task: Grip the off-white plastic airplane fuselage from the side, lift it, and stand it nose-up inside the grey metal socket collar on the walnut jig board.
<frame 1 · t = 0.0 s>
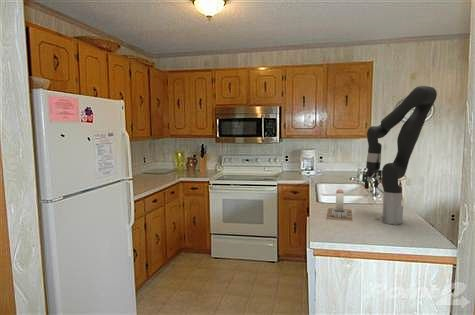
hand: (371, 188, 188), 17 cm above the worktop, tool pointing down, fingers open, 8 cm apart
socket collar: (339, 213, 187), on the jig board, point 3 cm above the worktop
jig board: (339, 216, 191), on the worktop
fuselage: (339, 212, 195), point 1 cm above the worktop, touching jig board
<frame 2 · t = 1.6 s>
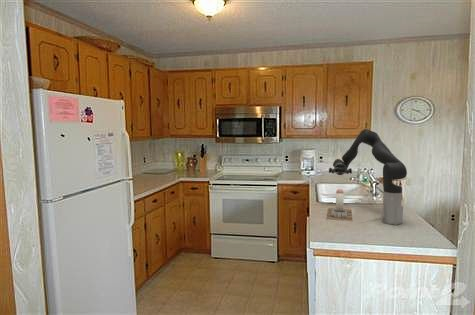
hand: (340, 172, 204), 24 cm above the worktop, tool horizontal, fingers open, 8 cm apart
nothing on the worktop moved.
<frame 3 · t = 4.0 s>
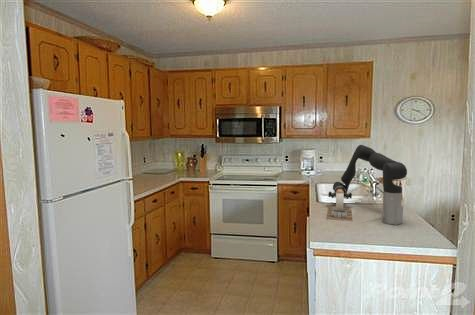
hand: (339, 197, 201), 9 cm above the worktop, tool horizontal, fingers open, 8 cm apart
nothing on the worktop moved.
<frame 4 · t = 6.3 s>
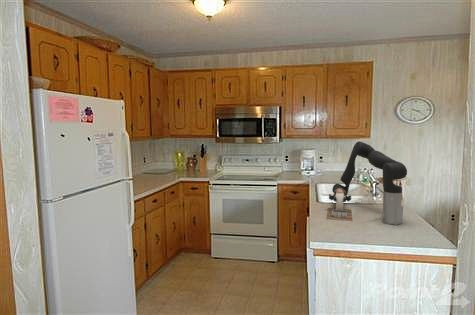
hand: (339, 200, 192), 9 cm above the worktop, tool horizontal, fingers closed on fuselage, 4 cm apart
fuselage: (339, 212, 195), point 1 cm above the worktop, touching gripper, jig board
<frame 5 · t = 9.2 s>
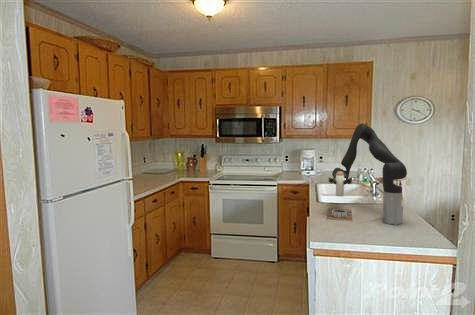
hand: (339, 182, 183), 21 cm above the worktop, tool horizontal, fingers closed on fuselage, 4 cm apart
fuselage: (339, 195, 186), point 13 cm above the worktop, touching gripper
when the fingers open (10 cm above the worktop, at t = 12.1 s): fuselage stays where it is, resting on jig board.
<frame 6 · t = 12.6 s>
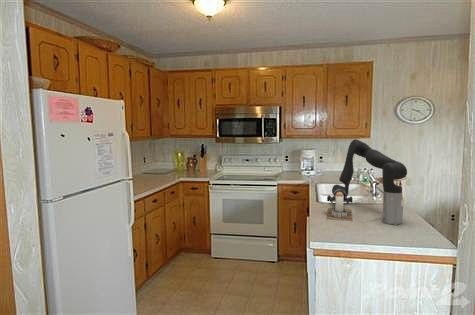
hand: (339, 201, 184), 10 cm above the worktop, tool horizontal, fingers open, 8 cm apart
fuselage: (339, 216, 187), point 1 cm above the worktop, touching jig board
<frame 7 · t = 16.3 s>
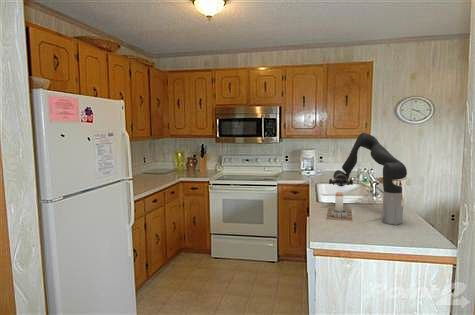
hand: (340, 183, 198), 18 cm above the worktop, tool horizontal, fingers open, 8 cm apart
nothing on the worktop moved.
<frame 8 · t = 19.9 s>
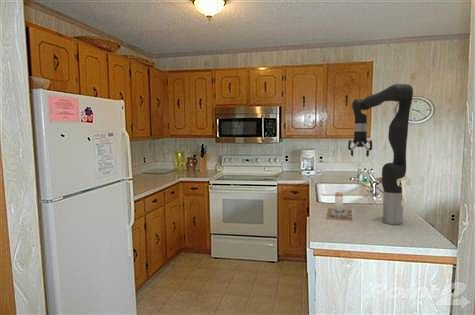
hand: (359, 156, 204), 34 cm above the worktop, tool pointing down, fingers open, 8 cm apart
nothing on the worktop moved.
at the end: fuselage 0.1 cm from the target spot on the jig board, point 1.3 cm above the jig board's base; fuselage tilted 2°; the gripper is holding nothing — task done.
